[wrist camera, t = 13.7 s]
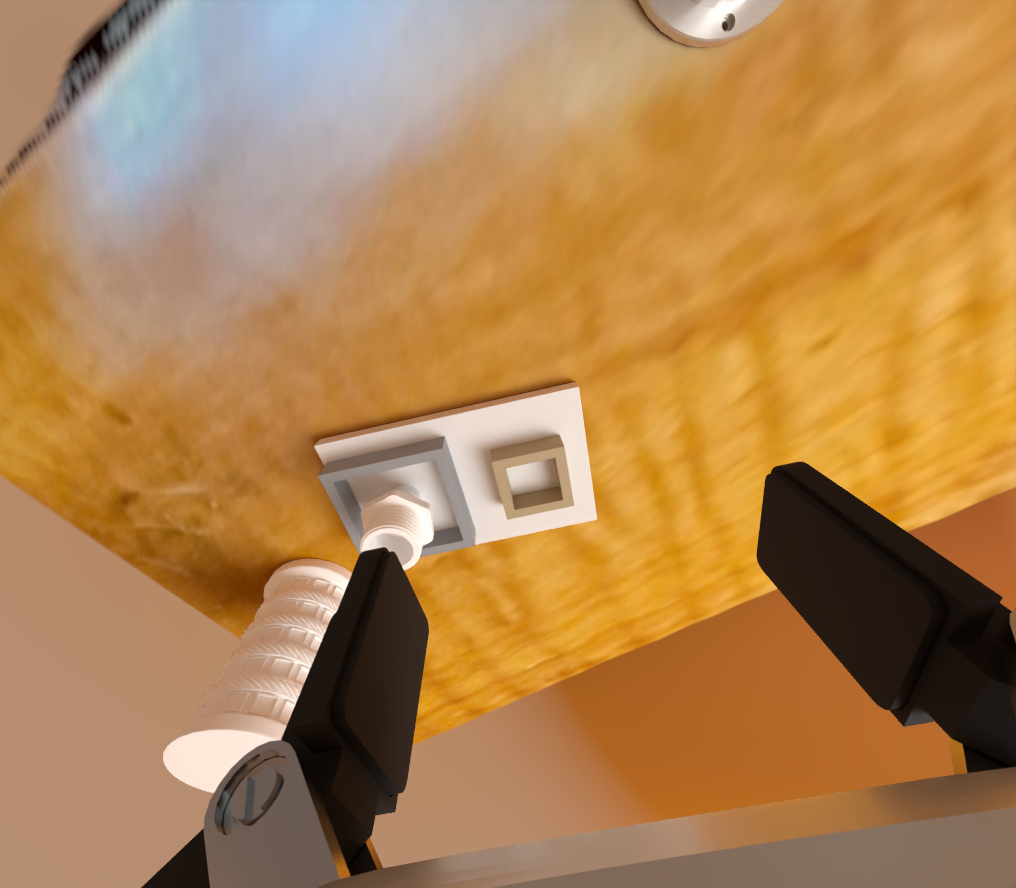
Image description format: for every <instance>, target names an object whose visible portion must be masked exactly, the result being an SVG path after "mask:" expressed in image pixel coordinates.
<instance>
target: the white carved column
mask: <svg viewBox="0 0 1016 888" xmlns="http://www.w3.org/2000/svg"><path fill="white" fill-rule="evenodd" d="M351 575H352V572H350V571H349V570H347V569H346V568H344V567H342V566H340V565H338V564H336V563H333V562H330V561H326V560H321V559H307V558H306V559H299V560H293V561H291V562H288V563H286V564H283V565H282V566H280V567H279V568H278V569H276V570H275V571H274V573H273V574H272V576H271V577H270V579H269V581H268V582H267V584H266V585H265V588H264V594H263V596H264V602H263V604H261V605H260V606H261V607H260V608H258V612H257V613H256V615H255V620H254V621H253V622H252V623H251V624H250V625H249V626H248V628H247V630H246V629H245V630H244V631H245V633H244V634H242V635H241V636H242V638H240V641H239V645H238V648H237V650H235V651H234V652H233V653H232V654H231V655H230V657H229V659H226V663H225V664H223V666H224V667H223V668H222V669H221V672H220V677H219V679H218V681H217V682H216V683H215V684H213V685H212V687H211V688H210V689H209V690H208V693H205V694H204V696H205V697H204V698H202V699H201V703H200V704H199V707H198V711H197V715H196V717H195V718H193V719H190V720H189V721H187V722H186V723H184V724H183V725H181V726H180V727H179V728H178V730H177V732H176V733H175V735H174V736H173V738H172V739H171V741H170V743H169V744H168V746H167V747H166V749H165V751H164V752H163V762H164V764H165V766H166V768H167V769H168V771H169V772H170V773H172V774H173V775H174V776H175V777H176V778H177V779H179V780H181V781H183V782H185V783H186V784H188V785H190V786H193V787H195V788H198V789H201V790H204V791H208V792H212V793H214V792H215V791H216V789H217V787H218V785H219V783H220V782H221V781H222V779H223V778H224V777H225V776H226V774H227V773H228V772H229V770H230V769H231V768H232V767H233V766H234V765H235V764H236V763H237V762H238V761H239V760H240V759H241V758H242V757H243V756H244V755H246V754H247V753H249V752H250V751H252V750H253V749H254V748H256V747H257V746H260V745H262V744H264V743H267V742H269V741H277V740H281V738H282V736H283V734H284V731H285V729H286V726H287V724H288V721H289V719H290V717H291V714H292V712H293V709H294V707H295V704H296V702H297V700H298V697H299V695H300V692H301V690H302V687H303V685H304V683H305V680H306V678H307V675H308V673H309V670H310V668H311V666H312V663H313V661H314V658H315V656H316V653H317V651H318V649H319V646H320V644H321V641H322V639H323V637H324V634H325V632H326V629H327V627H328V624H329V622H330V620H331V618H332V616H333V615H334V614H335V613H336V612H337V610H338V607H339V605H340V602H341V600H342V597H343V595H344V592H345V590H346V587H347V585H348V582H349V580H350V578H351Z"/></svg>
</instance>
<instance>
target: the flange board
mask: <svg viewBox="0 0 1016 888" xmlns="http://www.w3.org/2000/svg"><path fill="white" fill-rule="evenodd" d="M314 447H315V449H316V451H317V453H318V455H319V457H320V459H321V461H322V463H323V465H324V468H323V469H322V471H321V472H320V474H319V475H318V477H319V479H320V481H321V483H322V484H323V486H324V488H325V490H326V492H327V494H328V496H329V498H330V500H331V501H332V503H333V505H334V507H335V509H336V511H337V513H338V515H339V517H340V518H341V520H342V522H343V524H344V526H345V528H346V530H347V532H348V534H349V535H350V537H351V539H352V541H353V543H354V545H355V547H356V549H357V551H358V552H359V554H361V552H360V542H361V539H362V537H363V535H364V528H363V523H362V518H361V511H362V509H363V507H364V505H365V504H367V503H369V502H371V501H373V500H375V499H377V498H378V497H380V496H382V495H384V494H386V493H388V492H390V491H392V490H394V489H395V488H397V487H398V486H401V485H410V486H413V487H415V488H417V489H418V490H419V491H420V493H421V496H422V500H423V501H425V502H428V503H429V504H431V506H432V515H433V525H434V536H433V540H432V541H431V542H430V543H428V544H426V545H424V546H422V551H421V555H420V557H423V556H428V555H433V554H438V553H443V552H447V551H452V550H457V549H462V548H467V547H472V546H475V545H476V544H481V543H486V542H491V541H496V540H500V539H505V538H510V537H515V536H520V535H525V534H530V533H534V532H539V531H544V530H549V529H554V528H559V527H564V526H568V525H573V524H578V523H583V522H588V521H593V520H597V516H596V508H595V501H594V494H593V486H592V479H591V472H590V465H589V457H588V450H587V443H586V436H585V428H584V421H583V414H582V407H581V399H580V392H579V386H578V385H577V383H576V382H572V383H568V384H563V385H559V386H554V387H550V388H545V389H541V390H536V391H532V392H528V393H523V394H519V395H514V396H510V397H505V398H501V399H496V400H492V401H487V402H483V403H479V404H474V405H470V406H465V407H461V408H456V409H452V410H447V411H443V412H439V413H434V414H430V415H425V416H421V417H416V418H412V419H407V420H403V421H398V422H394V423H390V424H385V425H381V426H376V427H372V428H367V429H363V430H358V431H354V432H350V433H345V434H341V435H336V436H332V437H327V438H323V439H320V440H319V441H318V442H317V443H316V444H315V445H314Z"/></svg>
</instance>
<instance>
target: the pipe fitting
mask: <svg viewBox="0 0 1016 888" xmlns="http://www.w3.org/2000/svg"><path fill="white" fill-rule="evenodd" d="M361 518H362V523H363V528H364V535H363V537H362V539H361V542H360V552H361V553H362V552H363V551H367V550H372V549H377V548H382V547H386V548H387V549H388V551H389V552H391V551H394V552H395V553H396V555H397V557H398V559H399V561H400V563H401V565H402V567H403V569H404V570H406V569H408V568H410V567H412V566H413V565H414V564H416V562H417V561H418V559H419V557H420V555H421V551H422V546H424V545H426V544H428V543H430V542H431V541H432V540H433V536H434V525H433V515H432V506H431V504H429V503H428V502H425V501H423V500H422V496H421V493H420V491H419V490H418V489H417V488H415V487H413V486H410V485H401V486H398V487H397V488H395V489H394V490H392V491H390V492H388V493H386V494H384V495H382V496H380V497H378V498H377V499H375V500H373V501H371V502H369V503H367V504H365V505H364V507H363V509H362V511H361Z"/></svg>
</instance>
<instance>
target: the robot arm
mask: <svg viewBox="0 0 1016 888" xmlns="http://www.w3.org/2000/svg"><path fill="white" fill-rule="evenodd" d="M638 1H639V2H640V4H641V6H642V8H643V9H644V11H645V13H646V15H647V16H648V18H649V19H650V20H651V21H652V22H653V23H654V24H655V25H656V27H657V28H658V29H659V30H660V31H661V32H663V33H664V34H666V35H667V36H669V37H670V38H672V39H673V40H674V41H677V42H680V43H683V44H686V45H689V46H694V47H712V46H717V45H722V44H726V43H728V42H730V41H732V40H735V39H737V38H739V37H741V36H743V35H745V34H746V33H747V32H749V31H750V30H752V29H753V28H754V27H756V26H757V25H759V24H760V23H761V22H762V21H763V20H765V19H766V18H767V17H768V16H769V15H770V14H771V13H773V12H774V11H775V10H776V9H777V8H778V7H779V6H780V4H781V3H782V2H783V1H784V0H638ZM722 25H723V26H724V30H723V28H722ZM757 560H758V563H759V565H760V567H761V569H762V570H763V571H764V573H765V574H766V575H767V576H768V577H769V578H770V580H771V581H772V582H773V583H774V584H775V585H776V587H777V588H778V589H779V590H780V591H781V593H782V594H783V595H784V596H785V597H786V598H787V600H789V602H790V603H791V604H792V606H793V607H794V608H795V609H796V610H797V611H798V612H799V614H800V615H801V616H802V617H803V618H804V620H805V621H806V622H807V623H808V624H809V625H810V627H811V628H812V629H813V630H814V631H815V633H816V634H817V635H818V636H819V637H820V638H821V640H822V641H823V642H824V643H825V644H826V646H827V647H828V648H829V649H830V650H831V651H832V653H833V654H834V655H835V656H836V657H837V658H838V660H839V661H840V662H841V663H842V664H843V666H844V667H845V668H846V669H847V670H848V671H849V673H850V674H851V675H852V676H853V677H854V679H855V680H856V681H857V682H858V683H859V684H860V686H861V687H862V688H863V689H864V690H865V691H866V693H867V694H868V695H869V696H870V697H871V699H872V700H873V701H874V702H875V703H876V704H877V705H879V706H880V707H881V708H883V709H885V710H890V711H891V712H892V713H893V714H894V716H895V717H896V718H897V719H898V721H899V722H900V723H901V724H902V725H903V726H904V727H905V726H911V725H917V724H923V723H928V722H933V721H935V722H936V723H937V724H938V725H939V726H940V727H941V728H942V729H943V730H944V731H945V732H946V733H947V734H948V736H949V743H950V750H951V756H952V763H953V770H954V775H951V776H944V777H936V778H930V779H924V780H916V781H910V782H904V783H897V784H891V785H885V786H878V787H872V788H865V789H858V790H852V791H846V792H839V793H832V794H826V795H820V796H813V797H807V798H800V799H794V800H787V801H781V802H775V803H769V804H762V805H757V806H750V807H744V808H737V809H731V810H724V811H718V812H712V813H706V814H699V815H693V816H688V817H681V818H675V819H669V820H663V821H656V822H650V823H644V824H637V825H631V826H625V827H619V828H613V829H606V830H601V831H594V832H588V833H582V834H576V835H570V836H564V837H558V838H552V839H546V840H540V841H534V842H528V843H522V844H516V845H510V846H505V847H498V848H492V849H486V850H480V851H474V852H468V853H463V854H457V855H452V856H446V857H441V858H436V859H431V860H425V861H420V862H415V863H410V864H404V865H399V866H394V867H388V868H383V867H382V864H381V862H380V860H379V857H378V855H377V853H376V850H375V848H374V846H373V844H372V841H371V839H370V836H371V835H372V831H373V825H374V820H375V815H380V814H386V813H392V812H395V810H396V804H397V797H398V793H402V792H403V791H404V789H405V787H406V783H407V778H408V771H409V764H410V757H411V751H412V744H413V737H414V730H415V723H416V716H417V709H418V703H419V696H420V689H421V682H422V675H423V668H424V662H425V655H426V648H427V641H428V633H429V627H428V621H427V618H426V616H425V614H424V612H423V610H422V608H421V606H420V603H419V601H418V599H417V597H416V595H415V593H414V591H413V589H412V586H411V584H410V582H409V580H408V578H407V576H406V574H405V572H404V569H403V567H402V565H401V563H400V561H399V559H398V557H397V555H396V553H395V552H394V551H391V552H389V551H388V549H387V548H386V547H382V548H377V549H372V550H367V551H363V552H362V553H361V554H360V555H359V558H358V560H357V563H356V565H355V568H354V570H353V573H352V575H351V578H350V580H349V582H348V585H347V587H346V590H345V592H344V595H343V597H342V600H341V602H340V605H339V607H338V610H337V612H336V613H335V614H334V615H333V616H332V618H331V620H330V622H329V624H328V627H327V629H326V632H325V634H324V637H323V639H322V641H321V644H320V646H319V649H318V651H317V653H316V656H315V658H314V661H313V663H312V666H311V668H310V670H309V673H308V675H307V678H306V680H305V683H304V685H303V687H302V690H301V692H300V695H299V697H298V700H297V702H296V704H295V707H294V709H293V712H292V714H291V717H290V719H289V721H288V724H287V726H286V729H285V731H284V734H283V736H282V738H281V740H277V741H269V742H267V743H264V744H262V745H260V746H257V747H256V748H254V749H253V750H252V751H250V752H249V753H247V754H246V755H244V756H243V757H242V758H241V759H240V760H239V761H238V762H237V763H236V764H235V765H234V766H233V767H232V768H231V769H230V770H229V772H228V773H227V774H226V776H225V777H224V778H223V779H222V781H221V782H220V783H219V785H218V787H217V789H216V791H215V792H214V794H213V796H212V798H211V800H210V802H209V805H208V808H207V811H206V814H205V819H204V829H203V830H201V831H200V832H199V833H198V834H197V835H196V836H195V837H194V838H193V839H192V840H191V841H190V842H189V843H188V844H187V845H186V846H185V847H184V848H182V850H180V851H179V852H178V853H177V854H176V855H175V856H174V857H173V858H172V859H171V860H170V861H169V862H168V863H167V864H166V865H165V866H164V867H163V868H161V869H160V870H159V871H158V872H157V873H156V874H155V875H154V876H153V877H152V878H151V879H150V880H149V881H148V882H147V883H146V884H145V885H144V886H143V887H141V888H1016V608H1015V609H1014V611H1010V610H1009V609H1007V608H1006V607H1005V606H1003V605H1002V604H1000V601H1001V599H1002V597H1001V596H1000V595H998V594H997V593H995V592H994V591H993V590H991V589H990V588H988V587H986V586H985V585H984V584H982V583H981V582H979V581H978V580H976V579H975V578H973V577H972V576H971V575H969V574H968V573H966V572H965V571H963V570H962V569H960V568H959V567H957V566H956V565H954V564H953V563H952V562H950V561H948V560H947V559H946V558H944V557H943V556H941V555H940V554H938V553H937V552H935V551H934V550H933V549H931V548H930V547H928V546H927V545H925V544H924V543H922V542H921V541H919V540H918V539H916V538H915V537H913V536H912V535H911V534H909V533H908V532H906V531H905V530H903V529H902V528H900V527H899V526H897V525H896V524H894V523H893V522H892V521H890V520H889V519H887V518H886V517H884V516H883V515H881V514H880V513H878V512H877V511H875V510H874V509H873V508H871V507H870V506H868V505H867V504H865V503H864V502H862V501H861V500H859V499H858V498H856V497H855V496H854V495H852V494H851V493H849V492H848V491H846V490H845V489H843V488H842V487H840V486H839V485H837V484H836V483H835V482H833V481H832V480H830V479H829V478H827V477H826V476H824V475H823V474H821V473H820V472H818V471H817V470H815V469H814V468H813V467H811V466H810V465H808V464H806V463H804V462H795V463H790V464H785V465H780V466H776V467H774V468H773V469H772V471H771V474H768V475H767V476H766V479H765V487H764V496H763V504H762V513H761V521H760V530H759V539H758V547H757Z"/></svg>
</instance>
